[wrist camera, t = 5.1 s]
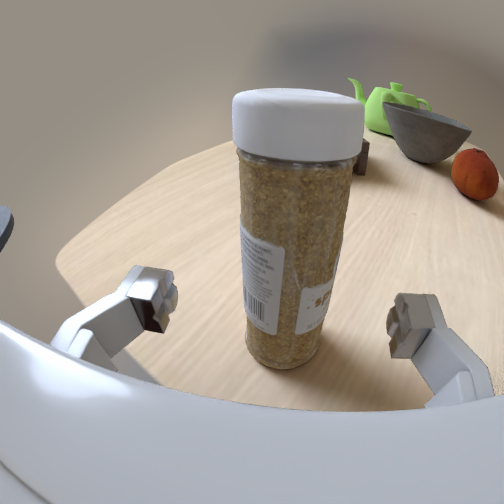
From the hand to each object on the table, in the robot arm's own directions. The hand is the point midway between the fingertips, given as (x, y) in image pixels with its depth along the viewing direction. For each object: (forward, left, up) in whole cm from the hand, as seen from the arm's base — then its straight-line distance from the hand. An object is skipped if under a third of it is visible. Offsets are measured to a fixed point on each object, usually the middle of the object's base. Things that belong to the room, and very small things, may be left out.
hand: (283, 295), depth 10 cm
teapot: (+24, +70, -7) cm, 75 cm away
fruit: (+29, +31, -7) cm, 43 cm away
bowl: (+25, +46, -7) cm, 53 cm away
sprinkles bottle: (0, +3, -7) cm, 8 cm away
